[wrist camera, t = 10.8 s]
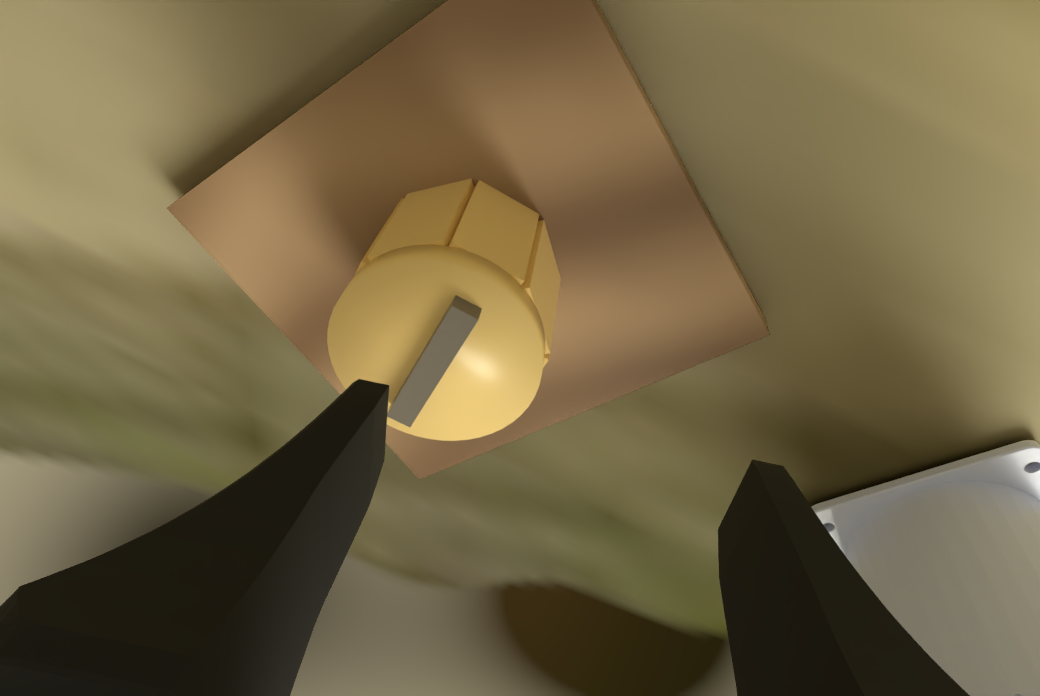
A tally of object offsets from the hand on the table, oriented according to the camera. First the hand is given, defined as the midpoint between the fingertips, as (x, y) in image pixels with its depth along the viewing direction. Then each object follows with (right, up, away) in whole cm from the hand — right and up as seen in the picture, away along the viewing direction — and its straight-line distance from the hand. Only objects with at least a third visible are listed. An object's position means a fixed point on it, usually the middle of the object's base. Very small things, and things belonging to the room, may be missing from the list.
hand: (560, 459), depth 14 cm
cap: (-2, +5, +8) cm, 9 cm away
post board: (-2, +5, +9) cm, 10 cm away
